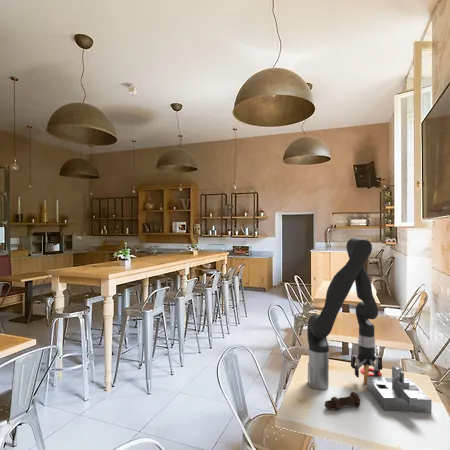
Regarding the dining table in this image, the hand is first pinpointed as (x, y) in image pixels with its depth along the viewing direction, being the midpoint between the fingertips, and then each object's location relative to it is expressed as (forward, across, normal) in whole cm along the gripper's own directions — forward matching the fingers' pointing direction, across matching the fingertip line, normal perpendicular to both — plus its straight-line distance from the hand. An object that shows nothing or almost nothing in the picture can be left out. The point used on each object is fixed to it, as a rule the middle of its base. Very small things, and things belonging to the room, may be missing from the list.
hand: (366, 377), depth 159 cm
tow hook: (+3, +6, +11) cm, 13 cm away
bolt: (+3, -18, -23) cm, 30 cm away
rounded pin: (+3, 0, 0) cm, 3 cm away
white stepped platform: (+3, +8, -17) cm, 19 cm away
